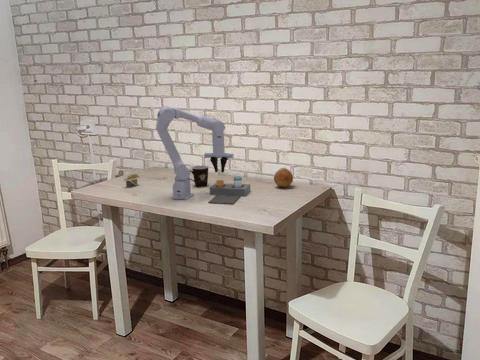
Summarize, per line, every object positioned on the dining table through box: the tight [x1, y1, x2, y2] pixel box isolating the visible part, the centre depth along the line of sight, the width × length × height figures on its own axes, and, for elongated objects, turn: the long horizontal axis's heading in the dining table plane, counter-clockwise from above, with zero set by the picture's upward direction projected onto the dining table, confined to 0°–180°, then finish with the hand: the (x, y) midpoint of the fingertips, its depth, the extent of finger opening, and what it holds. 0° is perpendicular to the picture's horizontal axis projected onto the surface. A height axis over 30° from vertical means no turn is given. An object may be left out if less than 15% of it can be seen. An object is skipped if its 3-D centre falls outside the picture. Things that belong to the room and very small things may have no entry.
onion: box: [273, 167, 294, 189], centre depth 233 cm, size 10×10×10 cm
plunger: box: [215, 179, 225, 187], centre depth 227 cm, size 4×4×4 cm
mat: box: [207, 195, 241, 206], centre depth 215 cm, size 12×12×1 cm
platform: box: [123, 173, 140, 188], centre depth 246 cm, size 12×18×7 cm, turn 148°
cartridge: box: [233, 176, 243, 188], centre depth 225 cm, size 4×4×8 cm
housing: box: [209, 182, 251, 197], centre depth 227 cm, size 10×18×4 cm, turn 75°
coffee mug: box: [189, 165, 209, 188], centre depth 242 cm, size 12×9×10 cm
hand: (219, 172), depth 226 cm, fingers open, 3 cm apart
